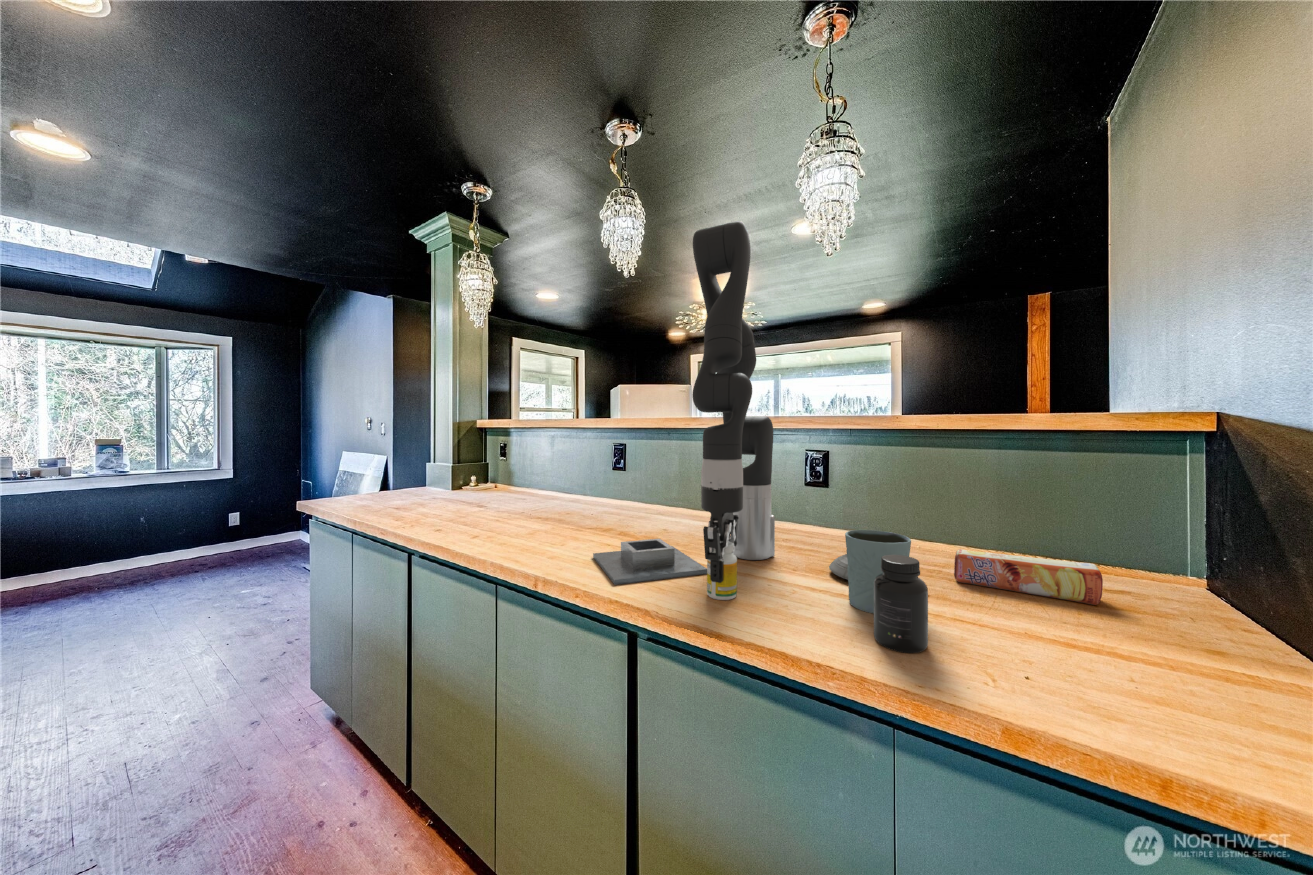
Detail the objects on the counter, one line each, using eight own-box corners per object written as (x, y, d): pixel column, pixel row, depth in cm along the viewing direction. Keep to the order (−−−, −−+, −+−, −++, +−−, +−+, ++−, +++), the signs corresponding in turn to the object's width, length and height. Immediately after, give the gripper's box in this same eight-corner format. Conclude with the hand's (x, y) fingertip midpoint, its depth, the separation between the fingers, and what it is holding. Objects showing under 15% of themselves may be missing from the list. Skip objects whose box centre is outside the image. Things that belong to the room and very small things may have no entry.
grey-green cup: (833, 603, 79) (834, 534, 79) (861, 589, 86) (862, 526, 86) (894, 622, 72) (895, 546, 71) (920, 606, 78) (921, 536, 78)
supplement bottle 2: (880, 628, 70) (880, 549, 69) (931, 641, 65) (932, 557, 65) (867, 644, 64) (868, 559, 64) (922, 660, 60) (923, 569, 60)
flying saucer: (903, 597, 83) (903, 567, 83) (819, 580, 92) (819, 553, 92) (915, 576, 95) (915, 549, 95) (840, 563, 104) (840, 539, 104)
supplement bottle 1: (701, 595, 83) (701, 543, 83) (718, 588, 87) (718, 537, 87) (725, 603, 79) (726, 548, 79) (742, 595, 83) (742, 542, 83)
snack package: (953, 584, 90) (953, 550, 89) (955, 575, 95) (956, 543, 95) (1103, 610, 77) (1104, 570, 77) (1097, 598, 82) (1097, 561, 82)
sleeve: (672, 549, 114) (672, 531, 114) (707, 573, 96) (707, 552, 95) (593, 557, 108) (593, 538, 107) (614, 585, 89) (614, 562, 89)
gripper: (714, 478, 91) (714, 563, 91) (688, 487, 78) (688, 586, 78) (752, 480, 88) (751, 568, 88) (731, 489, 75) (731, 592, 75)
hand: (721, 576), depth 83 cm, fingers closed on supplement bottle 1, 5 cm apart
